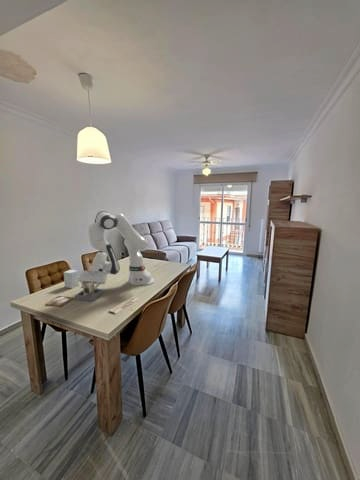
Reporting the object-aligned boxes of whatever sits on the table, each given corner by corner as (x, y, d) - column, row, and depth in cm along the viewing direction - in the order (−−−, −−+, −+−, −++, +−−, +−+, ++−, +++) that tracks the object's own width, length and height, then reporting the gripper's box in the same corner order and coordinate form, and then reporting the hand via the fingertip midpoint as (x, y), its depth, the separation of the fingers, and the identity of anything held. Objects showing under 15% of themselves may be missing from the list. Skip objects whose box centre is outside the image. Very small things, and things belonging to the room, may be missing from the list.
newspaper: (132, 297, 145) (132, 295, 145) (140, 300, 142) (140, 297, 142) (108, 312, 124) (108, 310, 124) (117, 315, 121) (117, 313, 121)
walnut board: (74, 298, 141) (74, 297, 141) (62, 306, 129) (62, 305, 129) (59, 296, 142) (58, 295, 142) (45, 304, 131) (45, 303, 131)
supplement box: (79, 285, 164) (78, 270, 162) (72, 288, 157) (71, 273, 155) (71, 284, 166) (70, 269, 164) (64, 287, 159) (63, 272, 157)
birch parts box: (94, 295, 147) (93, 282, 145) (90, 298, 142) (89, 284, 140) (88, 294, 147) (87, 281, 146) (83, 297, 142) (82, 284, 141)
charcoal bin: (102, 293, 150) (102, 289, 149) (92, 301, 137) (92, 297, 137) (86, 291, 152) (86, 288, 151) (75, 299, 139) (74, 295, 139)
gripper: (80, 268, 150) (72, 285, 142) (106, 270, 147) (99, 287, 139) (84, 272, 155) (77, 289, 147) (109, 274, 152) (103, 291, 144)
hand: (88, 288), depth 143 cm, fingers open, 8 cm apart
